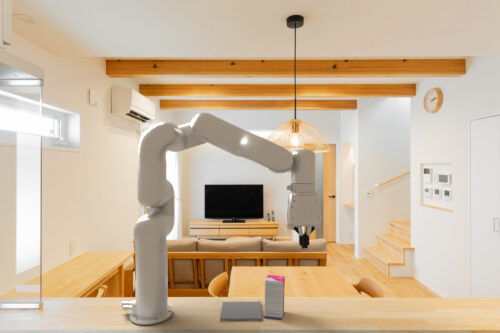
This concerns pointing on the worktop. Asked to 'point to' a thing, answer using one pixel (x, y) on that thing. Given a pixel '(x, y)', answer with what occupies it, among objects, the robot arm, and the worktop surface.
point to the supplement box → (274, 297)
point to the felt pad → (241, 311)
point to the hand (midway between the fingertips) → (304, 247)
